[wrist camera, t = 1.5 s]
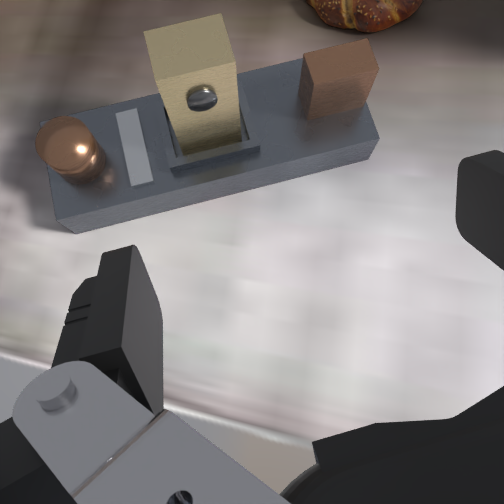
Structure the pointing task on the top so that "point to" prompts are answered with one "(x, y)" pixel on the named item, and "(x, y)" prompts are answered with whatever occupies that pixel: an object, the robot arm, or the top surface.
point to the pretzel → (364, 13)
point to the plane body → (219, 159)
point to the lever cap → (197, 82)
